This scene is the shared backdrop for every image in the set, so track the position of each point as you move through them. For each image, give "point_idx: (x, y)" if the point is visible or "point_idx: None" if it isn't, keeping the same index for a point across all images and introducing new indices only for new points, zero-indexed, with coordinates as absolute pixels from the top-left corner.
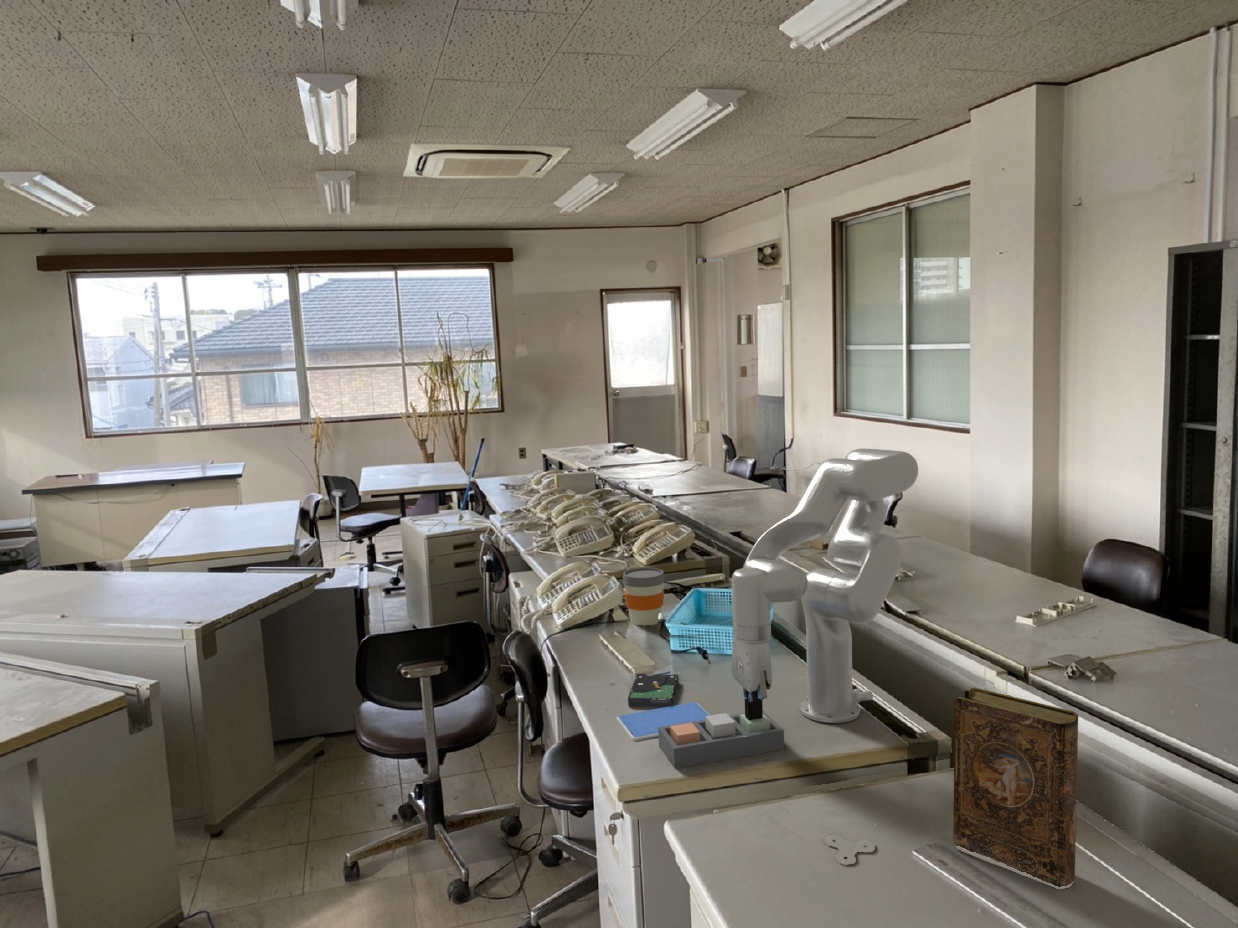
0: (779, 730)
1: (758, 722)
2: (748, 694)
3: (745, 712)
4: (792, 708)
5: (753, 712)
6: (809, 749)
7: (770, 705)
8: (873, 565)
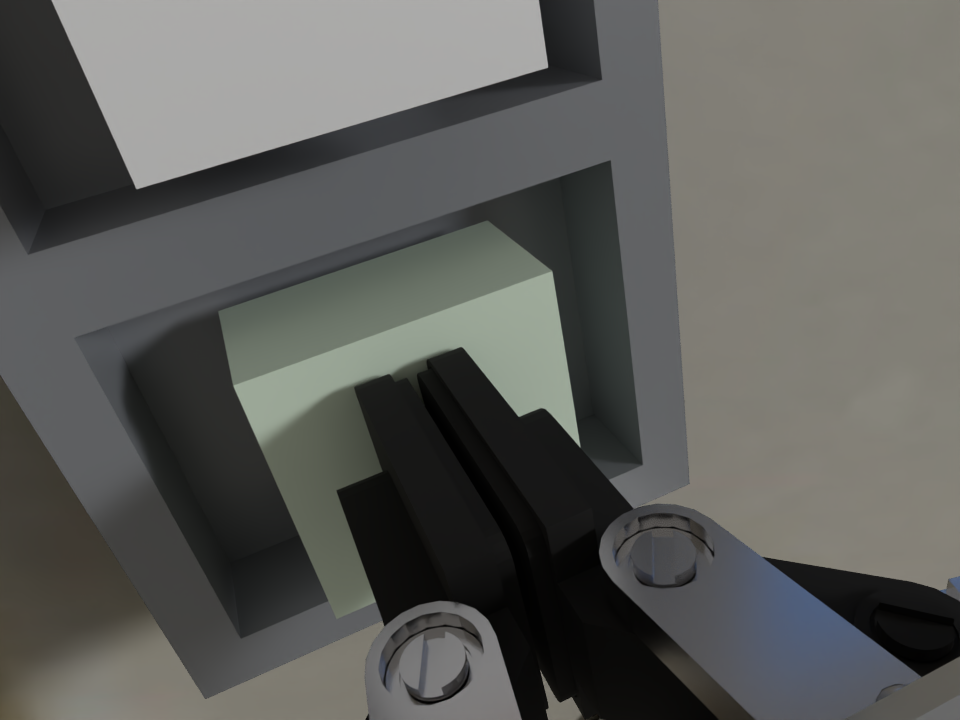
0: (189, 665)
1: (287, 501)
2: (515, 709)
3: (464, 385)
4: (812, 563)
5: (352, 528)
6: (193, 710)
7: (898, 440)
8: None
